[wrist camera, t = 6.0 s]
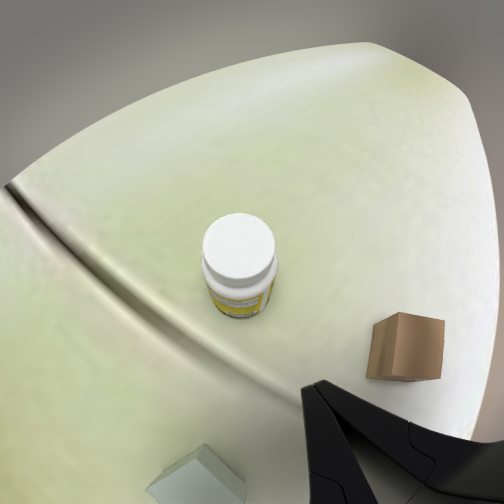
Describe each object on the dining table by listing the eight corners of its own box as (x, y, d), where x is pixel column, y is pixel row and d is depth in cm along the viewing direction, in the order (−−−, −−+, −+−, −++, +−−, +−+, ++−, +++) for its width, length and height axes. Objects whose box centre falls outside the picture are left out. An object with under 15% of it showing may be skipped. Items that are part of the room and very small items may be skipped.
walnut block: (415, 332, 22) (444, 320, 18) (410, 381, 20) (440, 378, 16) (373, 325, 22) (398, 311, 18) (365, 377, 20) (391, 374, 16)
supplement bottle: (242, 253, 24) (242, 192, 17) (282, 292, 23) (301, 244, 15) (199, 290, 23) (177, 241, 15) (238, 332, 21) (236, 304, 14)
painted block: (244, 482, 16) (245, 504, 12) (201, 509, 15) (193, 533, 11) (204, 443, 18) (195, 458, 14) (162, 471, 16) (145, 489, 12)
